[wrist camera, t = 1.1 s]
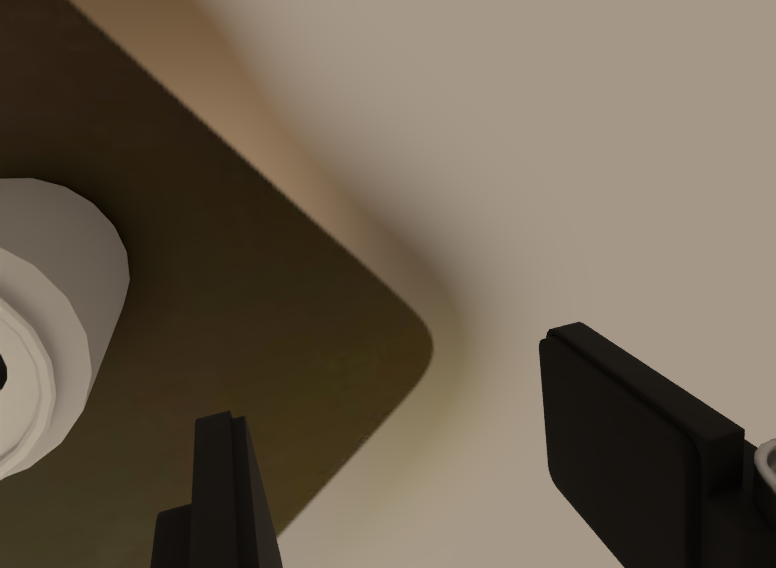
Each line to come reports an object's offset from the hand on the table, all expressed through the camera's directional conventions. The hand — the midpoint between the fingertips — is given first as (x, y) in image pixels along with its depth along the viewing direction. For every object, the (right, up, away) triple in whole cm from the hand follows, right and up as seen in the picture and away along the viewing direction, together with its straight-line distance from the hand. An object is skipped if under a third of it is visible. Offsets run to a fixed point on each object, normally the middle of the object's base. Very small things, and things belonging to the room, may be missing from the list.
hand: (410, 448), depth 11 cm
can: (-15, +4, +16) cm, 22 cm away
